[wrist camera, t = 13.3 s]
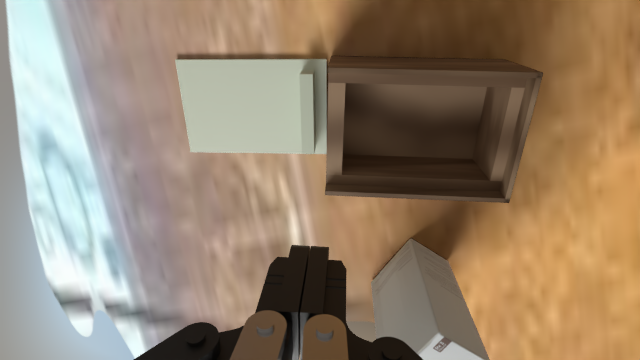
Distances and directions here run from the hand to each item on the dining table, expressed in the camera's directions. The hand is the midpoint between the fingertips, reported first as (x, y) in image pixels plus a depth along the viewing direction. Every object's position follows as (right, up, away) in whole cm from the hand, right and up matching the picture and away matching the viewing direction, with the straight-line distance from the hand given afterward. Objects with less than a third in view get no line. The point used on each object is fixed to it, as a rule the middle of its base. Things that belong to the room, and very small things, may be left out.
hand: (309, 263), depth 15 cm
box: (+9, +10, +22) cm, 26 cm away
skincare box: (+11, -7, +30) cm, 33 cm away
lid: (-6, +11, +23) cm, 26 cm away
